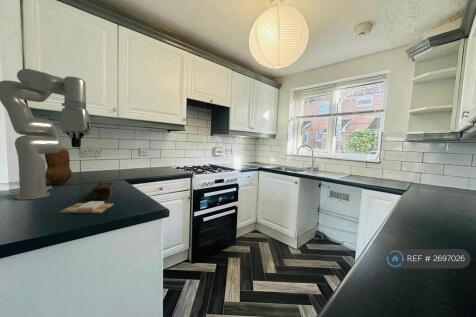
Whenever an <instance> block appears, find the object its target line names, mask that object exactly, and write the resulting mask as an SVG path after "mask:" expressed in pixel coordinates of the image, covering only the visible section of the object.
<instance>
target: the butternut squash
mask: <svg viewBox="0 0 476 317" xmlns="http://www.w3.org/2000/svg"><path fill="white" fill-rule="evenodd" d="M44 160H45V164H46V169H45V174H46V180H47V181H48V182H50V183H51V184H53V185H65V184H66V183H67V182H68V181H69V180H70V179H71V178H72V176H73V171H72V169H71V166H70V165H71V164H70V163H71V162H70V160H71V159H70V153H69V149H68V148H67V147H65V146H61V150H60V151H59V152H58V153H53V154H44Z"/></svg>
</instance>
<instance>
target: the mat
mask: <svg viewBox="0 0 476 317" xmlns="http://www.w3.org/2000/svg"><path fill="white" fill-rule="evenodd" d="M86 203H87V202H81V203H80V202H78V203H75V204H73V205H71V206H69V207H66V208H63V209H61V210H60V211H58V214H101V213H103V212H105V211H106V210H108V209H109V208H111V207H112V206H114V205H115V203H114V202H110V203H109V202H107V203H106V202H104V206H103V207H101V208H99V209H98V210H96V211H94V212H77V207H79V206H81V205H84V204H86Z"/></svg>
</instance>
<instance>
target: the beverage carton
mask: <svg viewBox="0 0 476 317" xmlns="http://www.w3.org/2000/svg"><path fill="white" fill-rule="evenodd" d="M113 192H114V182H104V181H101V182H98V183H97V184H96V185H95V186H94V187H93V188H92V190H91V201H109V200H110V199H111V197H112V195H113Z"/></svg>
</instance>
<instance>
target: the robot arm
mask: <svg viewBox="0 0 476 317" xmlns="http://www.w3.org/2000/svg"><path fill="white" fill-rule="evenodd" d="M16 77H17V80H18V81H15V80H9V79H8V80H7V79H6V80H1V81H0V102H1V104H2V106H3V107H4V108H5V110H6V112H7V114H8V117H9V119H10V120H9V121H10V124H11V125H12V126H11V127H12V128H13V131H15V133H16V134H18V135H21V136H18V137H16V138H15V141H14V146H15V149H16V150H15V151H16V154H17V160H18V161H17V162H18V180H19V185H18V186H19V194H17V195H15V197H14V198H15V200H17V201H18V200H19V201H21V200H23V201H24V200H25V201H27V200H36V199H41V198H46V197H49V196H51V192H50V191H49V190H51V189H52V188H53V186H52V185H47V183H46V182H47V181H46V180H47V179H46V174H45V173H46V161H45V159H43V157H41V156H40V155H45V154H53V153H58V152H59V151H60V150H61V147H62V141H61V138H60V136H59V134H58V130H57V128H56V126H55V124H54V122H53V121H52V120H50V119H47V118H41V117H35V116H34V115H33V113H32V109H31V108H30V107H29V106H28V105H27V104H26V103H24V101H28V102H35V103H36V102H37V103H44V102H45V101H46V100H48V98H50V96H51V95H53V94H54V95H61V96H62V97H64V98H63V99H64V102H62V103H61V106H63V107H62V109H61V112H60V116H59V117H60V118H59V119H60V120H59V129H60V130H61V133H62V134H64V135H67V136H68V137H69V138H70V139H71V140H70V141H71V147H72V148H81V145H82V139H83V137H84V136H88V135H90V130H91V123H90V121H91V120H90V115H89V111H88V109H87V94H86V92H87V91H86V90H87V89H86V88H87V85H86V81H85V80H84V79H83V78H80V77H77V76H69V75H68V76H66V77H64V78H62V77H60V76H56V75H52V74H49V73H47V72H43V71H38V70H36V69H31V68H22V69H20V70H18V72H17V73H16ZM22 100H23V101H22Z"/></svg>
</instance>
